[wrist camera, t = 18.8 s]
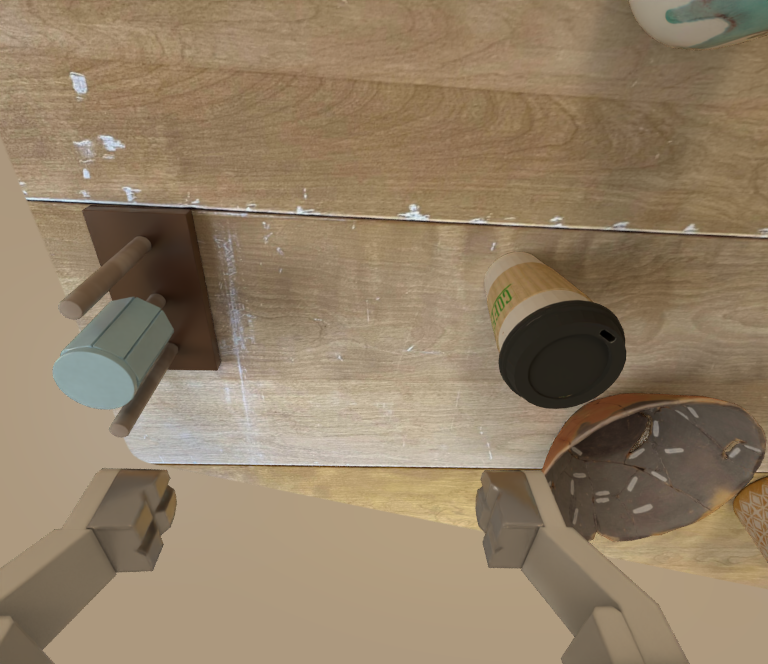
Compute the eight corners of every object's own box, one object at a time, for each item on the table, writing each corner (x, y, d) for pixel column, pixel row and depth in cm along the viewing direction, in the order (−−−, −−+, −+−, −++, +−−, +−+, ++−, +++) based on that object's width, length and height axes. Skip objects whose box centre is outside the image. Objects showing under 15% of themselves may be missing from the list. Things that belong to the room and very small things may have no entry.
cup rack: (140, 361, 50) (75, 454, 38) (90, 204, 40) (-18, 269, 28) (221, 362, 50) (180, 455, 39) (191, 209, 40) (124, 273, 29)
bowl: (727, 326, 50) (799, 382, 42) (687, 463, 64) (736, 526, 55) (509, 366, 52) (536, 427, 44) (516, 490, 66) (538, 555, 57)
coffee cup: (447, 289, 46) (478, 381, 34) (513, 215, 42) (577, 289, 29) (512, 332, 49) (562, 431, 37) (580, 268, 45) (662, 354, 33)
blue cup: (91, 304, 38) (35, 359, 32) (153, 292, 38) (109, 345, 31) (125, 355, 42) (80, 414, 35) (182, 344, 41) (148, 403, 35)
